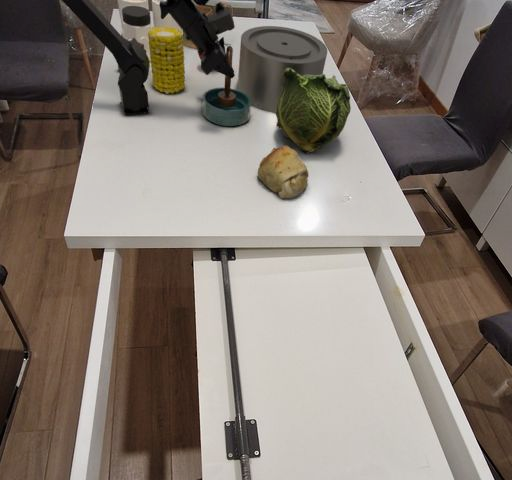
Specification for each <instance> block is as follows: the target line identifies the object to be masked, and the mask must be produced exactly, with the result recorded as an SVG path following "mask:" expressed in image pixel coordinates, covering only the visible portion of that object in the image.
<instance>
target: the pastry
mask: <svg viewBox="0 0 512 480" xmlns="http://www.w3.org/2000/svg"><path fill="white" fill-rule="evenodd" d="M257 176H258V179H259V180H260V181H261V182H262V184H263V185H264V186H265V187H266V188H268V189H269V190H270V191H272V192H273V193H275V194H277V195H278V197H279V198H280V199H282V200H283V199H291V198H294V197H297V196H298V195H301V194H302V193H303V192H304V191H306V188H307V186H308V181H309V179H308V177H309V170H308V168H307V165H306V164H305V162H304V161H302V158H300V156H299V155H298V152H297V151H295V149H292V148H290V147H289V145H283V146H281V147H277V148H276V147H274V148H273V149H271V151H270V153H268V154H267V155H266V156H264V157H263V158H262V159H261V161H260V163H259V166H258V168H257Z"/></svg>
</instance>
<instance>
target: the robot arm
mask: <svg viewBox="0 0 512 480" xmlns="http://www.w3.org/2000/svg"><path fill="white" fill-rule="evenodd" d="M61 1H62V3H63V4H64V5H65V6H66V7H67V8H68V9H69V10H70V11H71V12H72V13H73V14H74V15H75V16H76V17H77V18H78V19H79V20H80V21H81V22H82V24H83V25H85V27H86V28H87V29H88V30H89V31H90V32H91V33H92V34H93V35H94V36H95V37H96V39H98V40H99V41H100V43H102V44H103V46H104V47H105V48H106V49H107V50H108V51H109V52H110V53H111V54H112V56H113V58H114V60H115V62H116V64H117V66H118V65H119V67H120V69H121V70H120V71H119V75H118V79H117V87H118V89H119V90H118V91H119V97H120V101H119V106H120V107H121V110H122V111H123V113H124V115H125V116H133V115H143V114H145V115H146V114H149V113H150V110H149V109H148V108H149V107H150V103H149V94H148V93H149V92H148V91H147V89H146V86H145V84H146V82H147V80H148V77H149V73H150V66H151V63H150V61H149V58H148V56H147V55H146V50H145V49H143V48H142V47H141V46H140V45H139V43H138V42H137V40H136V39H135V38H133V39H132V41H131V42H130V41H128V40H127V39H125V38H124V36H123V35H121V34H120V32H119V31H118V30H117V29H116V28H115V26H114V25H112V23H111V22H109V20H108V19H107V18H106V17H105V16H104V15H103V14H102V13H101V12H100V10H99V9H98V8H97V7H96V6H95V4H93V2H92V1H91V0H61ZM209 1H210V0H166V1H161V0H160V4H159V6H160V10H161V19H164V18H165V17H166V16H167V15H168V13H169V14H170V15H171V16H172V18H173V19H174V20H175V21H176V23H177V24H178V25H179V26H180V28H181V29H182V32H183V31H184V33H185V37H186V39H187V40H188V41H189V40H191V41H192V43H193V44H194V45H195V46H196V48H197V49H196V51H197V54H198V53H199V55H200V56H201V55H202V54H203V53H204V52H205V53H204V54H203V55H202V56H201V59H200V69H201V71H202V72H203V73H204V75H206V76H208V75H210V74H211V73H212V72H213V71H215V72H217V73H220V74H222V75H224V76H225V75H226V76H228V77H230V78H231V79H233V78H234V77H235V76H236V75H235V70H234V68H233V67H232V69H231V67H230V65H229V63H228V61H227V59H226V45H225V37H224V36H222V37H221V38H220V39H219V36H218V35H221V34H223V33H225V32H228V31H232V30H234V29H235V28H236V25H235V20H234V18H233V17H234V16H233V17H232V10H231V8H230V7H229V6H227V5H223V4H222V3H221V2H222V1H218V2H217V3H215V4H214V12H213V11H212V15H210V16H207V15H206V14H205V12H200V11H199V9H198V8H197V7H196V5H199V6H205V7H206V5H207V4H208V3H209ZM195 4H196V5H195ZM199 55H198V56H199ZM144 83H145V84H144Z"/></svg>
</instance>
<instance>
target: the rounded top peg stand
mask: <svg viewBox="0 0 512 480" xmlns="http://www.w3.org/2000/svg"><path fill="white" fill-rule="evenodd" d="M225 53H226V59H227V61H228V63H229V65H230V67H231V69H232V68H233V56H234V55H233V53H234V48H233V47H232V46H231V45H228V46H226V49H225ZM231 86H232V78H230V77H228V76H226V75H224V87H223V88H224V91H221V92H219V93H218V104H219V105H221V106H224V107H233V106H235V104H236V95H235V94H234V93H233V92H230V88H231V89H232V87H231Z"/></svg>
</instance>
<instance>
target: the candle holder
mask: <svg viewBox="0 0 512 480" xmlns="http://www.w3.org/2000/svg"><path fill="white" fill-rule="evenodd" d="M116 1H117V7H118V12H119V18H120V24H121V25H120V26H121V30H122V37H123V38H125V37H124V29H123V16H122V9H123V8H124V7H127V6H140V7H143V8H146V9H148V10H149V9H150V7H149V6H150V5H149V3H150V2H149V0H116ZM149 11H150V10H149Z"/></svg>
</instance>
